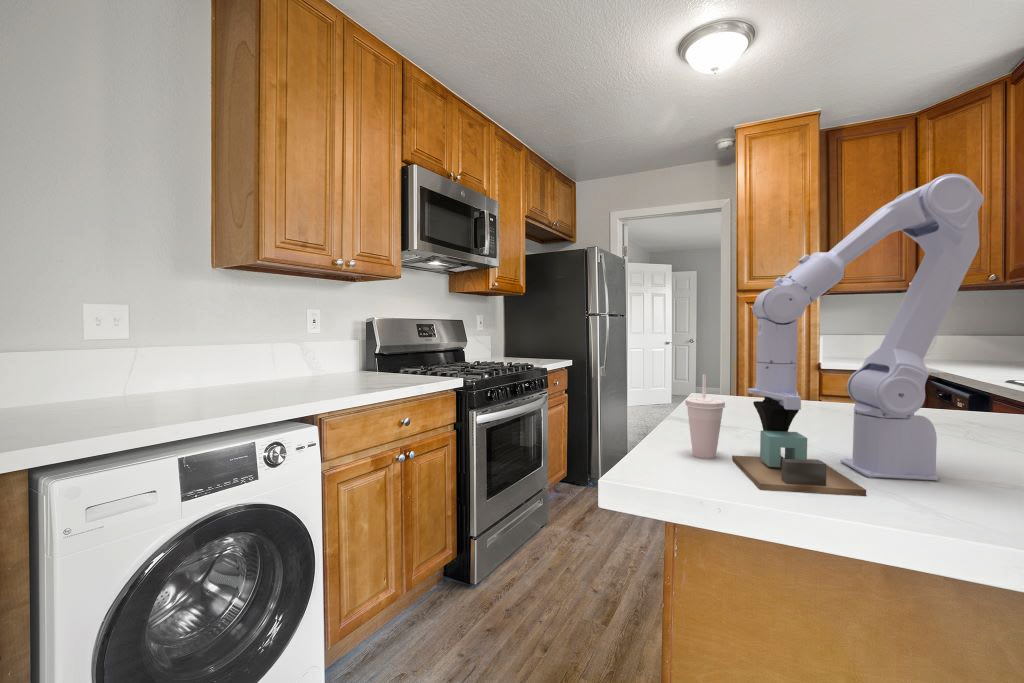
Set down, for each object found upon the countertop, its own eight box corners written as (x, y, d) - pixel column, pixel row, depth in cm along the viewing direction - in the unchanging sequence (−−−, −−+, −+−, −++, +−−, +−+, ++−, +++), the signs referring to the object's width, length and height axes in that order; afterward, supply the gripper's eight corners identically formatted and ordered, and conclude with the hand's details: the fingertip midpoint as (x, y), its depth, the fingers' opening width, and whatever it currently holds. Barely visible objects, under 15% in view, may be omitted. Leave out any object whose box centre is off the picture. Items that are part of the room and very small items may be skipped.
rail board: (818, 464, 75) (818, 441, 75) (866, 495, 62) (866, 467, 62) (732, 460, 78) (732, 437, 78) (759, 489, 64) (760, 462, 64)
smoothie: (717, 451, 83) (718, 373, 83) (730, 461, 77) (731, 377, 77) (680, 450, 84) (681, 373, 84) (690, 460, 78) (691, 377, 77)
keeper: (795, 460, 73) (796, 431, 73) (806, 468, 69) (807, 438, 69) (760, 459, 74) (760, 430, 74) (768, 466, 70) (769, 436, 70)
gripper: (736, 358, 83) (735, 434, 83) (764, 366, 68) (762, 457, 69) (780, 359, 81) (778, 436, 82) (817, 366, 67) (815, 460, 68)
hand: (774, 446), depth 75 cm, fingers closed
